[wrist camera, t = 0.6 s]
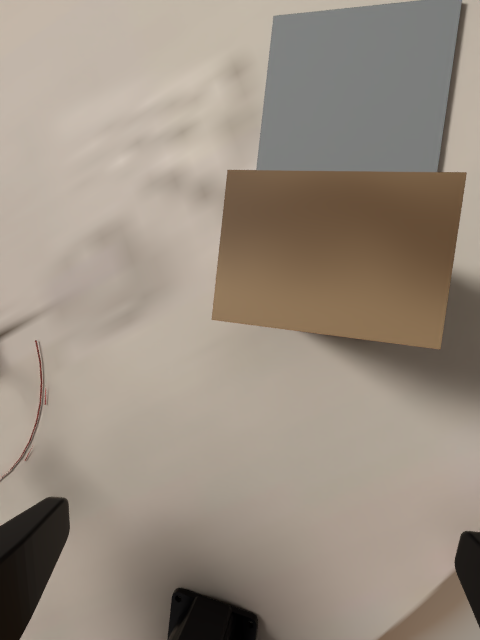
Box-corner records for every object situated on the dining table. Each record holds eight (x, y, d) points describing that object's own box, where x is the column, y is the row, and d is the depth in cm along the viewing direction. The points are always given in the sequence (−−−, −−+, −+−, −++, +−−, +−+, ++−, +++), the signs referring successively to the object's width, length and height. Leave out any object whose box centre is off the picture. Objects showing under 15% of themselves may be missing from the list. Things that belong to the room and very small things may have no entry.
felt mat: (425, 242, 20) (427, 241, 20) (250, 232, 23) (249, 231, 23) (459, 2, 19) (462, -4, 19) (274, 21, 22) (273, 15, 22)
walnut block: (377, 329, 21) (439, 352, 10) (269, 316, 23) (211, 322, 11) (388, 248, 21) (466, 172, 9) (278, 241, 23) (227, 169, 11)
